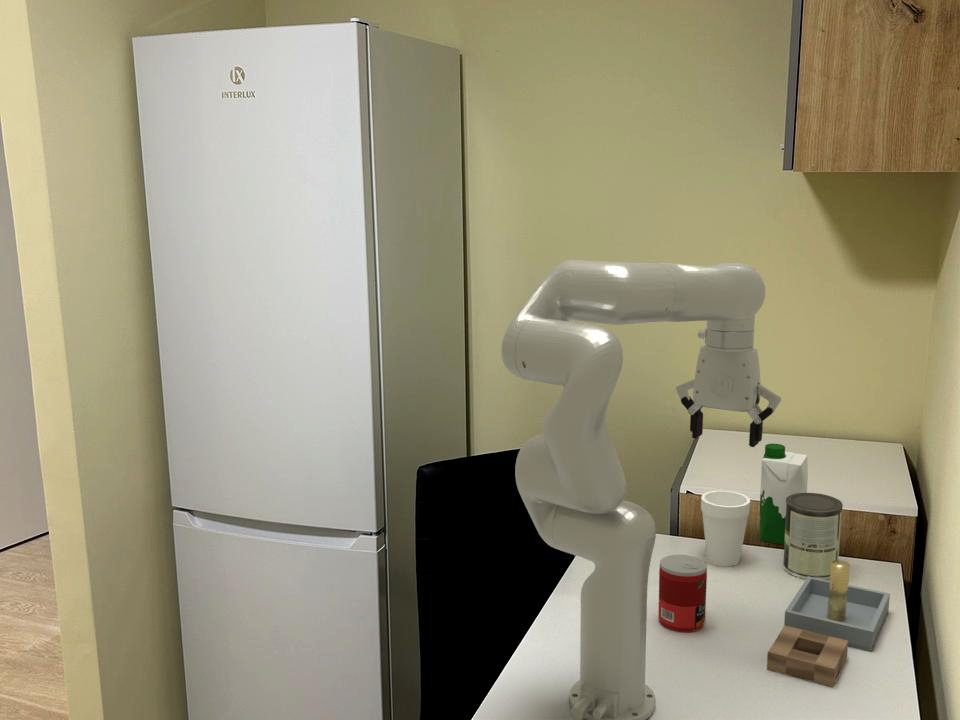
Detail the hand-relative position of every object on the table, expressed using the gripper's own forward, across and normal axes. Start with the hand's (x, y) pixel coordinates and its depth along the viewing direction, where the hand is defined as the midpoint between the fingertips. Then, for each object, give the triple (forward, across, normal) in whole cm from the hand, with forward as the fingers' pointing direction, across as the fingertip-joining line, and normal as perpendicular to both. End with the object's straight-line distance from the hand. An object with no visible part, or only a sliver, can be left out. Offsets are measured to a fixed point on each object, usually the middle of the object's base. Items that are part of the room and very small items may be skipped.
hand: (725, 440), depth 156 cm
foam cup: (+33, -8, +26) cm, 43 cm away
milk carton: (+32, -1, +43) cm, 54 cm away
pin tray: (+33, +18, +12) cm, 39 cm away
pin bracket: (+33, +17, -6) cm, 37 cm away
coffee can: (+33, +8, +30) cm, 45 cm away
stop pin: (+32, +17, +11) cm, 38 cm away
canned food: (+33, -5, -3) cm, 34 cm away
